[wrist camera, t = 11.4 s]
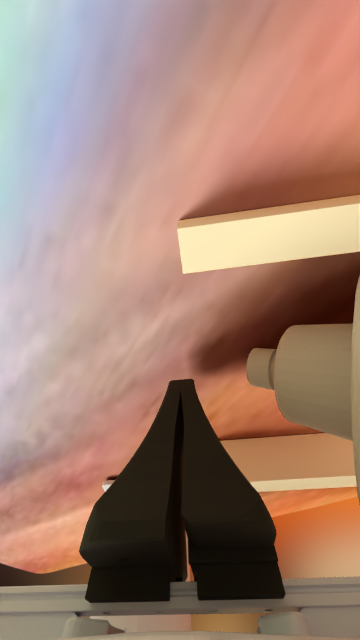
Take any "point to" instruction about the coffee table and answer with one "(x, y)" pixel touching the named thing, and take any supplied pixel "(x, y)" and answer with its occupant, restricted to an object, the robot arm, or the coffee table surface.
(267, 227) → the dock
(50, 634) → the robot arm
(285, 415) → the showerhead
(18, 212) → the coffee table surface
